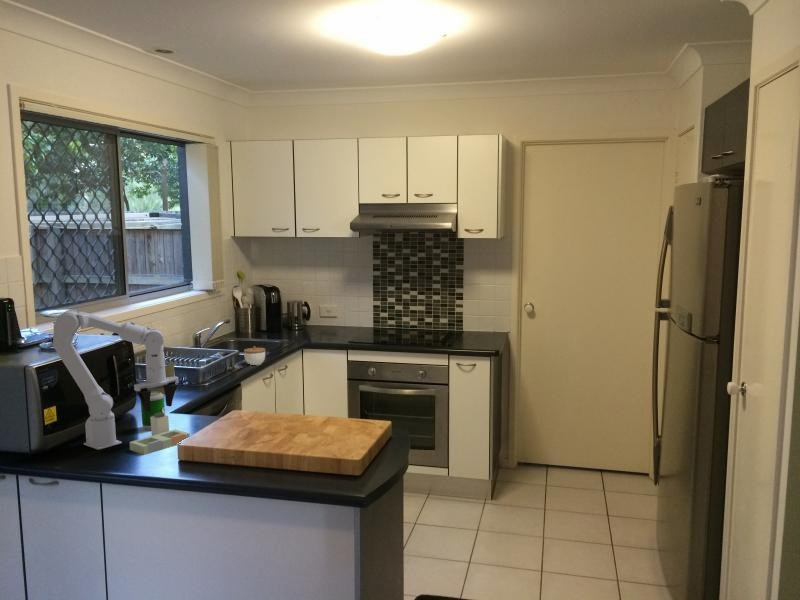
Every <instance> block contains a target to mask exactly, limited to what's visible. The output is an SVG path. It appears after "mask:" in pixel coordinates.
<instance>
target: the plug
mask: <svg viewBox="0 0 800 600" xmlns="http://www.w3.org/2000/svg"><path fill="white" fill-rule="evenodd" d="M150 418H151V430H150V431H151V433H150V434H151V436H153V435H157V434H160V433H164V432H168V431H170V425H169V424H170V423H169V421H170V420H169V415H167V414H166V413H165V414H164V413H157V414H154V416H152V417H150Z"/></svg>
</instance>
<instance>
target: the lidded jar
mask: <svg viewBox="0 0 800 600" xmlns="http://www.w3.org/2000/svg"><path fill="white" fill-rule="evenodd" d="M243 355H244V360H245V362H246V363H247V364H248V365H249V364H250V365H249V366H251V365H256V366H261V365H262V364H263V363H264V361H265V359H266V348H264V347H257V346H255V345H254V346H253V347H250V348H245V349H243Z"/></svg>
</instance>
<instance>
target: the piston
mask: <svg viewBox="0 0 800 600" xmlns="http://www.w3.org/2000/svg"><path fill="white" fill-rule="evenodd" d="M165 374H166V378H167V377H174V376H176V375H175V363H174V362H173V361H172V362H171V363H169V364H165ZM145 376H146V377H145V378H146V380H147V372H146V371H145ZM147 390H148V391H151V392H155V391H156V392H161V393H162V394H163V395H165V391H164V388H163V385H162V386H158V387H153V388H148V389H147Z"/></svg>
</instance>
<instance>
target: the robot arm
mask: <svg viewBox="0 0 800 600" xmlns="http://www.w3.org/2000/svg"><path fill="white" fill-rule="evenodd" d="M52 326H53V339H52V346H53V348H54V350H55V352H56V353H57V354H58V356H59V358H60V359H61V361H62V362H63V364H64V366H65V367H66V369H67V370H68V372H69V374H70V376H71V377H72V379H73V380H74V382H75V383H76V384H77V386H78V388H79V389H80V391H81V392H82V394H83V396H84V401H85V403H86V404H87V407H88V413H89V415H90V416H89V417H88V418H87V419H86V421H85V425H84V428H85V439H86V442H84V443H83V445H84V446H86V447H90V448H92V449H95V450H103V449H106V448H109V447H112V446H116V445H120V444H122V443H123V442H122V441H121V440H118V439H117V436H116V435H117V434H116V433H117V432H116V422H115V421H116V419H115V413H114V412H112V410H111V409H112V408H113V406H114V400H113V397H112V396H111V395H110V394H108V393H106V392H105V391H104V389H103V388H102V387H101V386H100V385H99V384H98V383H97V381H96V379H95V378H94V376H93V375H92V373H91V371H90V370H89V368H88V367H87V365H86V363H85V362H84V360H83V359H82V357H81V355H80V353H78V350H76V348H75V346H74V345H73V340H74V338H75V335H76V332H77V331H78V330H79V328H80V330H84V329H88V328H89V329H90V328H94V329H98V330H103V331H106V332H110V333H113V334H117V335H118V336H119V338H120V339H121V340H123V341H127V342H130V343H132V344H136V345H141V346H142V345H144V347H145V352H146V353H145V373H146V372H147V379H146V381H143V382H139V383H136V384H133V389H134V391H135V393H136V394H137V396H138V397H139V400H140V402H141V401H142V403H143V406H144V409H145V411H147V412H149V411H150V395H151V391H148V390H147V389H148V388H153V387H158V386H162V385H163V388H164V391H165V394H164V400H165V406H167V407H172V405H173V401H174V396H175V393H176V391H177V389H178V386H179V385H178V383H179V377H178V376H176V375H175V376H174V377H167V378H166V374H165V365H166V360H165V359H166V358H165V352H164V350H165V349H164V348H165V347H164V342H165V340H164V335H163V333H162V332H161V331H160V330H158V329H156V328H152V327H150V326H146V327H145V326H143V325H139V324H137V322H135V321H133V320H132V321H131V322H128V321H126V322H124V323H119V322H116V321H113V320H111V319H108V318H104V317H102V316H99V315H95V314H92V313H90V312H85V311H78V310H76V309H68V310H66V311H64V312H63V313H61V314H60V315H58V317H57V318H56V320H55V322H54V324H53V325H52Z"/></svg>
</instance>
